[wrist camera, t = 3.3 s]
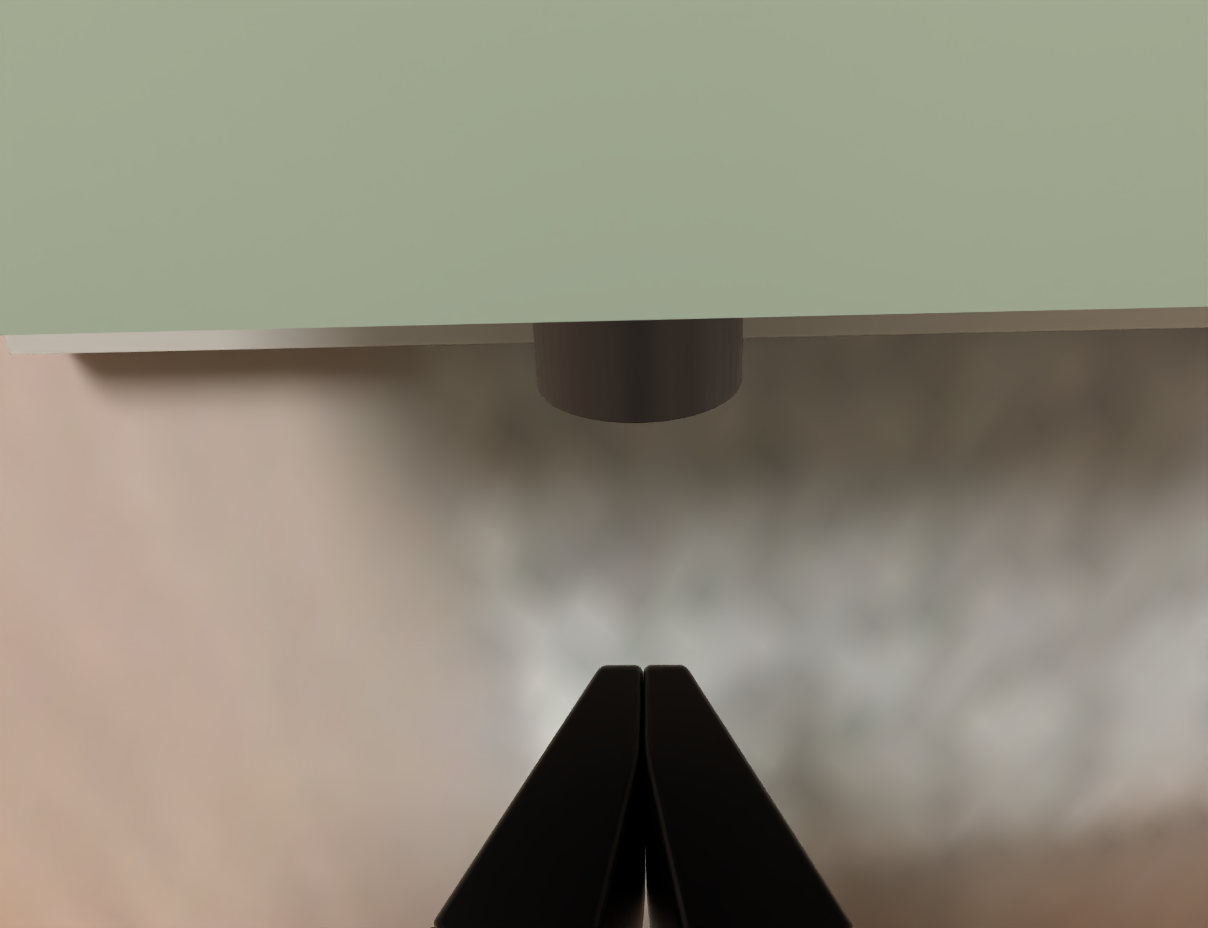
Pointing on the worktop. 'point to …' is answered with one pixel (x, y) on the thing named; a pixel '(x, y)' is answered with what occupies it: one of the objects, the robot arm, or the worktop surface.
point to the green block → (595, 160)
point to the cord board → (623, 348)
